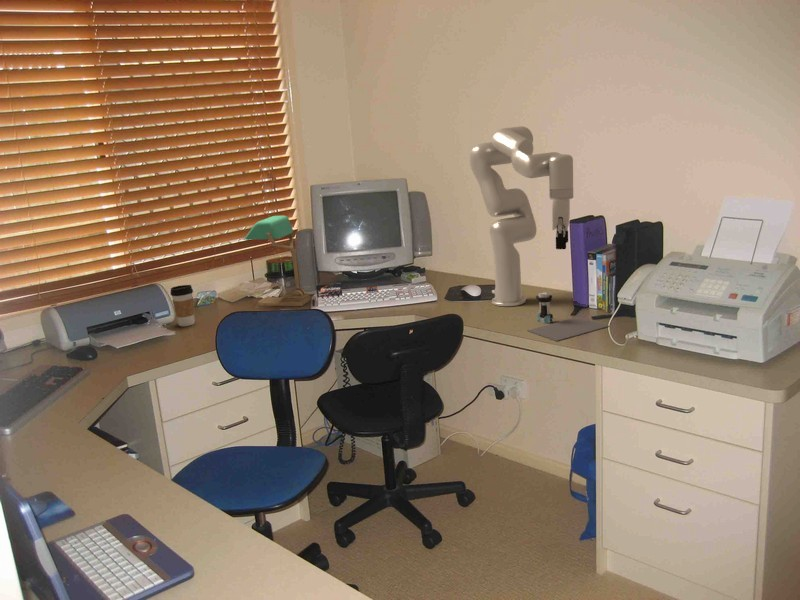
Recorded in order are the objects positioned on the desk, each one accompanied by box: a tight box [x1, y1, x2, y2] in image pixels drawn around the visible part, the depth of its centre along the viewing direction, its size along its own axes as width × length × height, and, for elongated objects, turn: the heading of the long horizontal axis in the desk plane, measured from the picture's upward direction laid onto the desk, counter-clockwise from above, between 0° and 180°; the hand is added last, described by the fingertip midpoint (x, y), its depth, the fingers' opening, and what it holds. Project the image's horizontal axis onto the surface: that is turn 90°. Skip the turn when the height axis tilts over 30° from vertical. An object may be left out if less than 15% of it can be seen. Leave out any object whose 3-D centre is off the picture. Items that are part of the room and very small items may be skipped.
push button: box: [535, 291, 557, 324], centre depth 263 cm, size 7×5×10 cm
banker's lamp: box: [243, 215, 311, 307], centre depth 314 cm, size 16×21×35 cm
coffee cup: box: [169, 284, 196, 327], centre depth 297 cm, size 8×8×15 cm
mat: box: [527, 316, 610, 342], centre depth 255 cm, size 14×22×1 cm, turn 119°
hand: (562, 245), depth 255 cm, fingers open, 9 cm apart
